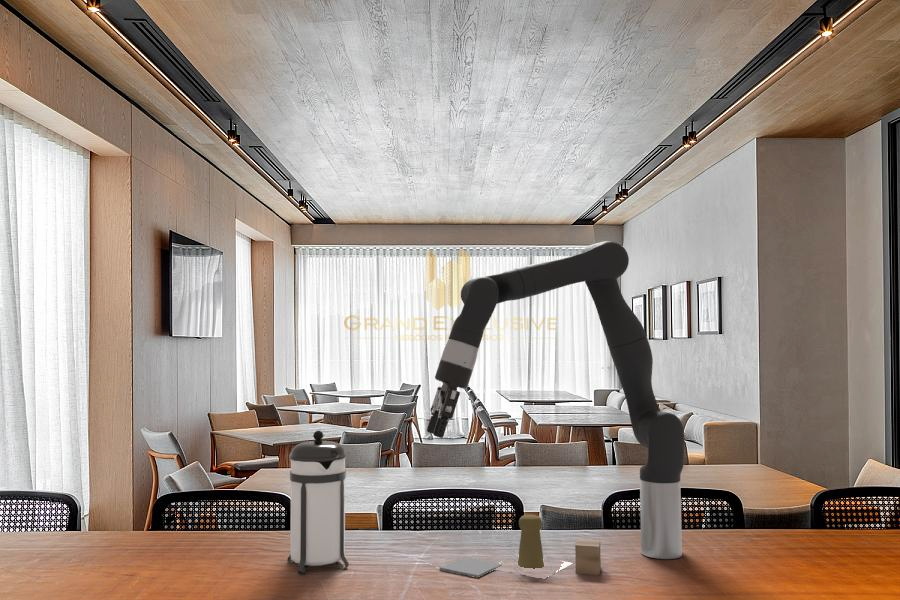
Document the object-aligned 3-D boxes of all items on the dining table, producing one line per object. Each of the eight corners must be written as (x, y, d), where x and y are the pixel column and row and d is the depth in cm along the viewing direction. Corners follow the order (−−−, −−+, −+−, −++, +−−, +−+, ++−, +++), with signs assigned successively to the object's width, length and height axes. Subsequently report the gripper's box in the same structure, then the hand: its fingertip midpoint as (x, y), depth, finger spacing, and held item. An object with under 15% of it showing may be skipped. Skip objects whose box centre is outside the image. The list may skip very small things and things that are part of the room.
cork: (543, 570, 167) (542, 519, 167) (515, 568, 168) (515, 517, 168) (545, 562, 172) (545, 513, 173) (518, 560, 174) (518, 511, 174)
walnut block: (577, 566, 170) (577, 539, 170) (600, 568, 168) (600, 540, 169) (575, 573, 165) (575, 545, 165) (599, 575, 164) (598, 546, 164)
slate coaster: (464, 559, 175) (464, 556, 175) (502, 566, 170) (502, 563, 170) (439, 570, 167) (439, 567, 167) (478, 578, 161) (478, 575, 161)
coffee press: (366, 559, 175) (366, 428, 177) (326, 579, 161) (327, 436, 163) (303, 551, 183) (304, 424, 184) (260, 569, 168) (261, 432, 170)
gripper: (480, 369, 162) (456, 443, 159) (466, 368, 175) (444, 436, 173) (447, 358, 160) (422, 432, 158) (435, 358, 174) (413, 426, 172)
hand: (434, 434), depth 166 cm, fingers open, 8 cm apart
